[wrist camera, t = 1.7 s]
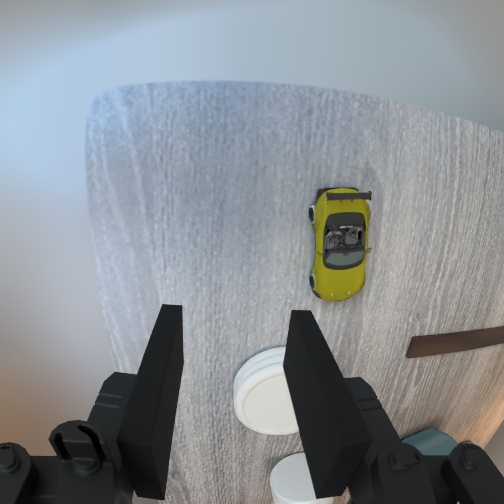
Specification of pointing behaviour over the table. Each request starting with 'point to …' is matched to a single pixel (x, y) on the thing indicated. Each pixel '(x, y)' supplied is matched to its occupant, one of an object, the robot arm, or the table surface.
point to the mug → (294, 482)
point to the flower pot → (432, 442)
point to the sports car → (339, 242)
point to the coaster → (264, 394)
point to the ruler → (454, 342)
